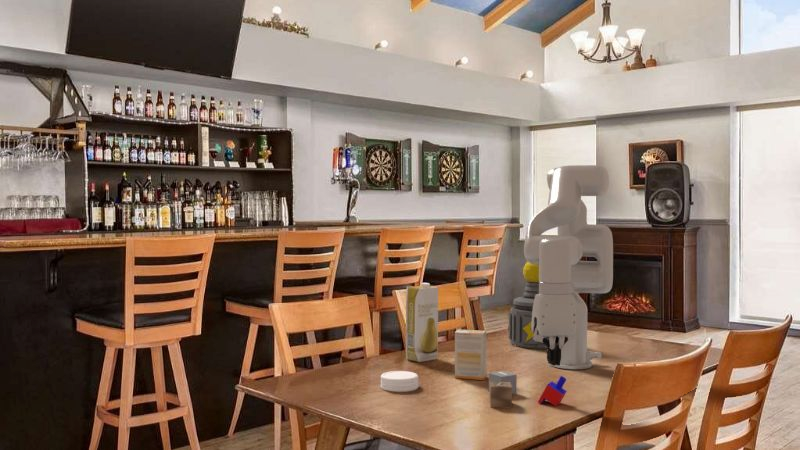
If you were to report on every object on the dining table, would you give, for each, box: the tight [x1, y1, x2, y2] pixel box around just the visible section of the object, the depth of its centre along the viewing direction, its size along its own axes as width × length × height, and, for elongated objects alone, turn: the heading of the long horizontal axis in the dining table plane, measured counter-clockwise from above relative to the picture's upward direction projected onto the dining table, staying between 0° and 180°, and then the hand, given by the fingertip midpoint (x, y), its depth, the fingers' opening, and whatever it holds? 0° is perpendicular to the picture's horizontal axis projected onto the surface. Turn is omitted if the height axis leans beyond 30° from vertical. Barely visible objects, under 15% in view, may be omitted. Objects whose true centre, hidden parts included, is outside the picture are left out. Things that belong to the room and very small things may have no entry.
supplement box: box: [454, 329, 488, 381], centre depth 195 cm, size 8×5×13 cm, turn 71°
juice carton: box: [405, 282, 439, 363], centre depth 218 cm, size 9×8×24 cm
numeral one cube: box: [488, 370, 518, 395], centre depth 179 cm, size 5×5×5 cm
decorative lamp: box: [507, 261, 555, 350], centre depth 244 cm, size 19×19×30 cm
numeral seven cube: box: [488, 382, 513, 409], centre depth 168 cm, size 5×5×5 cm
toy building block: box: [537, 376, 567, 407], centre depth 169 cm, size 4×4×8 cm
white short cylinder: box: [380, 370, 419, 393], centre depth 184 cm, size 10×10×4 cm
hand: (554, 364), depth 170 cm, fingers closed
